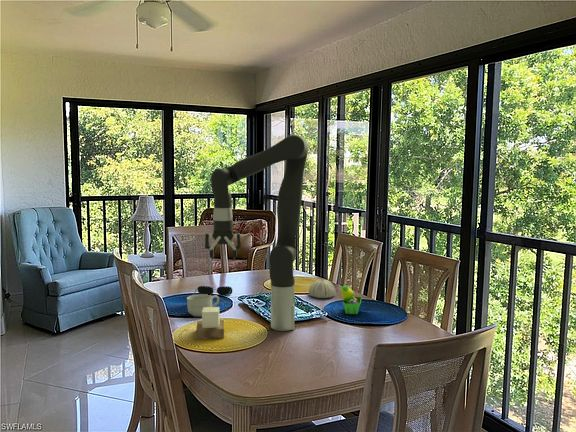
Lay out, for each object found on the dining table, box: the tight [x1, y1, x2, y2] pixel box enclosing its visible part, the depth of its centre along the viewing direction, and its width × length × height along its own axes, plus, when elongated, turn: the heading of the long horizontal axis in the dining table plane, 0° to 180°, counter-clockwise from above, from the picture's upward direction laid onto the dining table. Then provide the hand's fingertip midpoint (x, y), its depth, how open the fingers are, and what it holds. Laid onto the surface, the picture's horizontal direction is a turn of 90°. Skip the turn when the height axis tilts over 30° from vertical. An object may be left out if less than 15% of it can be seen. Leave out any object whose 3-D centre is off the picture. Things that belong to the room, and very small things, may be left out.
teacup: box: [186, 293, 220, 317], centre depth 201 cm, size 14×11×8 cm
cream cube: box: [201, 306, 221, 328], centre depth 177 cm, size 6×6×6 cm
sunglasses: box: [192, 285, 233, 300], centre depth 225 cm, size 17×15×5 cm
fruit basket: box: [340, 285, 362, 315], centre depth 207 cm, size 11×9×11 cm
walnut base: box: [195, 319, 225, 341], centre depth 178 cm, size 10×10×4 cm
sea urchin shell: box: [308, 279, 337, 299], centre depth 231 cm, size 13×14×8 cm
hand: (223, 259), depth 189 cm, fingers open, 8 cm apart
